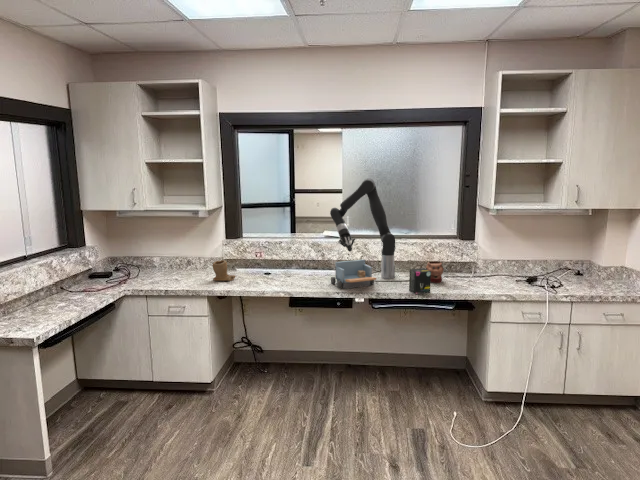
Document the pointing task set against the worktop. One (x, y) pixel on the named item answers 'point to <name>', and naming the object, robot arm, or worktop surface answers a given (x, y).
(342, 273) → the pickup bed
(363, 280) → the panel
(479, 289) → the worktop surface
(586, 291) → the worktop surface
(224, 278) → the brown boot
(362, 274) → the block
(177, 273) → the worktop surface
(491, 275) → the worktop surface
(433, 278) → the decorative planter
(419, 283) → the tampon box
